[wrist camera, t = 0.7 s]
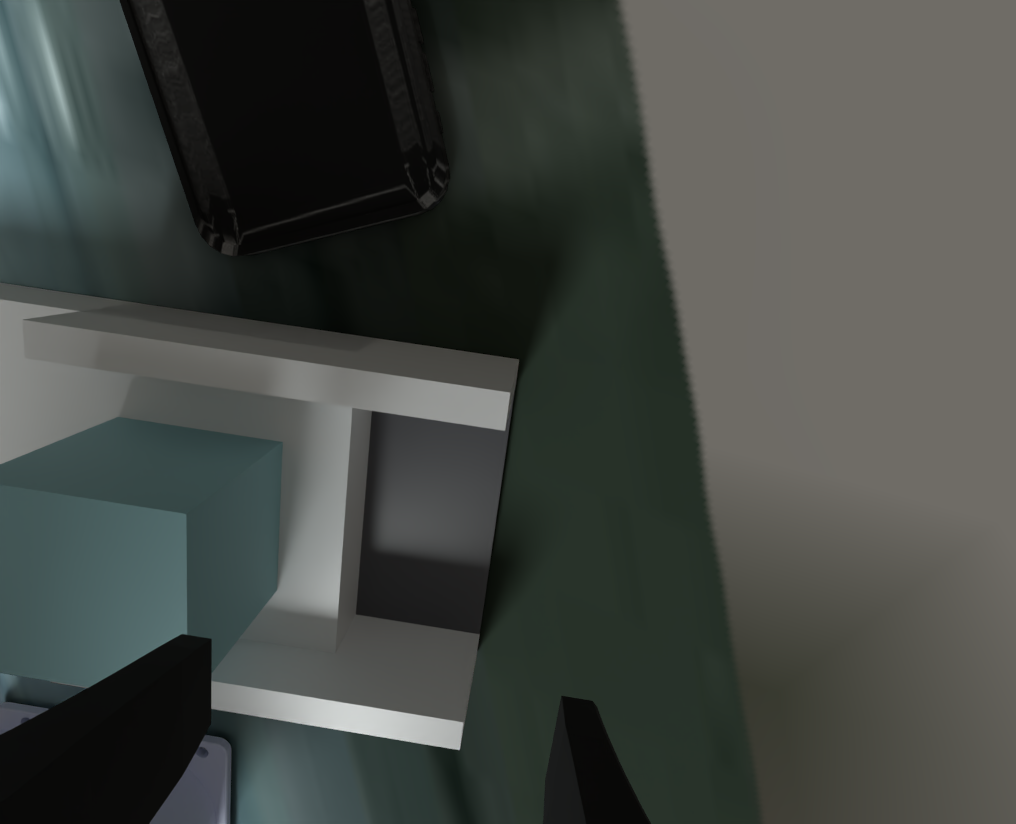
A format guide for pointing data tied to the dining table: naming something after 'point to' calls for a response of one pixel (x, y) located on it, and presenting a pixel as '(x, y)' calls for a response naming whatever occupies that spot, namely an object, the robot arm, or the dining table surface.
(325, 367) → the grey channel
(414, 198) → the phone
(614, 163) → the dining table surface
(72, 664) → the teal block
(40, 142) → the dining table surface
